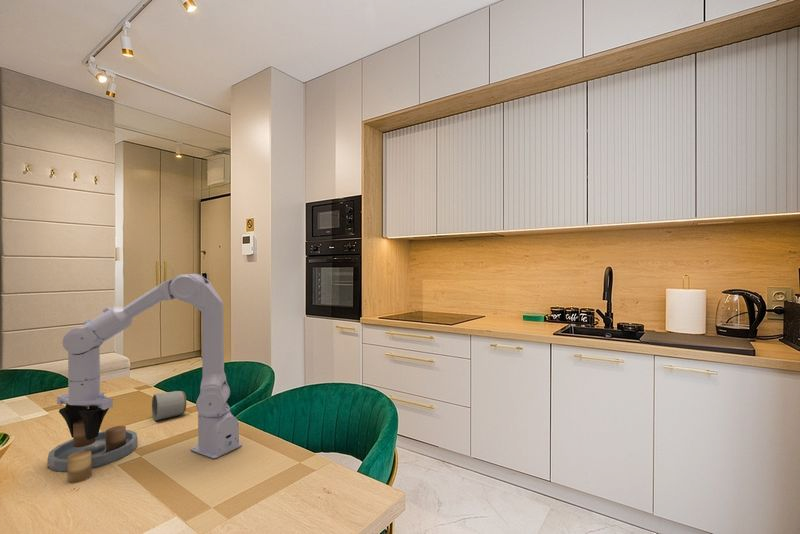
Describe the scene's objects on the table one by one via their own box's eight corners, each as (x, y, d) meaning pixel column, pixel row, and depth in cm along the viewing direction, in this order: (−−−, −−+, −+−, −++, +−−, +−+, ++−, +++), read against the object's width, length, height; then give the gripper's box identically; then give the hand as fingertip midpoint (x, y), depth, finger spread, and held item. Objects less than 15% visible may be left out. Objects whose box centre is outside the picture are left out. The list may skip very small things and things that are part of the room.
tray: (151, 447, 99) (150, 438, 99) (68, 479, 84) (68, 468, 84) (116, 433, 108) (116, 425, 108) (35, 460, 93) (35, 450, 93)
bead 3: (129, 445, 98) (129, 425, 98) (117, 453, 94) (117, 432, 94) (114, 445, 99) (114, 425, 99) (101, 453, 95) (101, 432, 95)
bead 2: (95, 475, 86) (95, 452, 86) (72, 484, 82) (72, 460, 82) (86, 471, 88) (86, 448, 88) (64, 479, 84) (63, 456, 84)
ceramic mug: (188, 416, 120) (187, 390, 120) (157, 423, 114) (156, 397, 114) (177, 408, 127) (177, 384, 128) (148, 415, 122) (148, 390, 122)
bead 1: (95, 443, 91) (95, 422, 91) (73, 448, 88) (72, 426, 88) (95, 438, 94) (95, 417, 94) (73, 442, 92) (73, 421, 92)
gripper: (125, 375, 93) (125, 433, 93) (78, 371, 97) (79, 427, 97) (95, 384, 87) (95, 446, 87) (46, 379, 90) (47, 439, 90)
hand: (84, 437), depth 91 cm, fingers closed on bead 1, 4 cm apart
